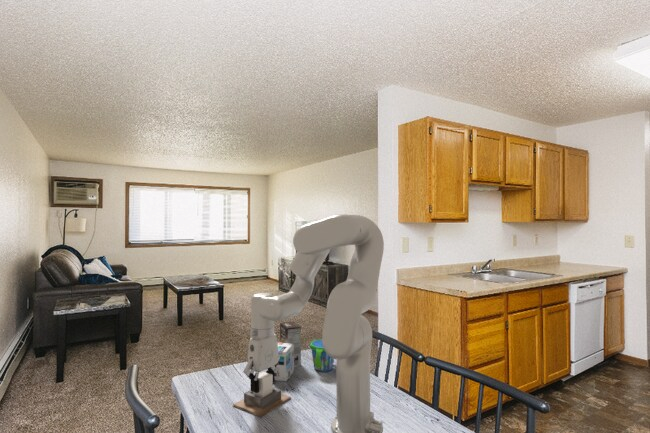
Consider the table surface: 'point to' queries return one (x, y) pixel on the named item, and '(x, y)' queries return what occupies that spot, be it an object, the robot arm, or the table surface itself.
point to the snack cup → (320, 357)
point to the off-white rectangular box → (265, 384)
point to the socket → (261, 402)
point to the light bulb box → (285, 361)
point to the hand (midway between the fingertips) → (262, 387)
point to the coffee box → (292, 338)
